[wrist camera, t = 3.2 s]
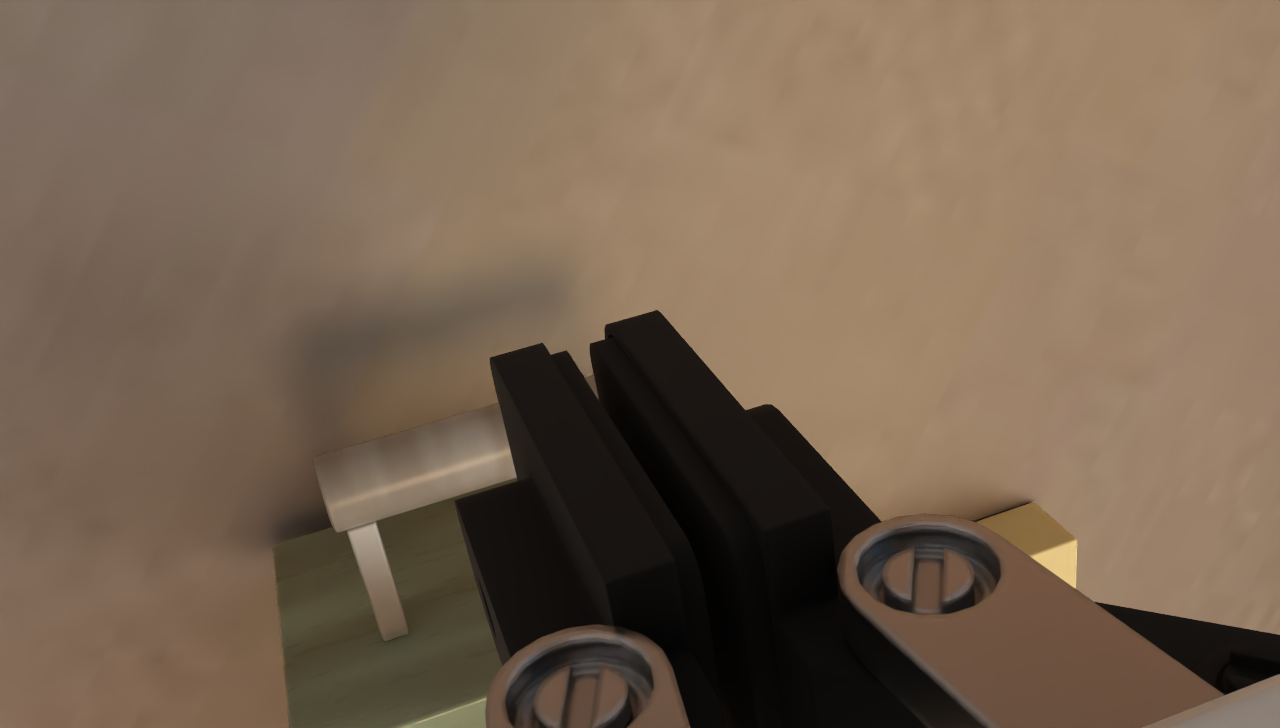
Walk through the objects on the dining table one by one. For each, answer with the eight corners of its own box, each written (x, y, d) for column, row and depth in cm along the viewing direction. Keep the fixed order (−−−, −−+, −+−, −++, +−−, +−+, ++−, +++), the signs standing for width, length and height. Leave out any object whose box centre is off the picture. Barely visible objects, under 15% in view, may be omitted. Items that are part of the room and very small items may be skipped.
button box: (779, 588, 37) (838, 670, 33) (1033, 500, 39) (1114, 570, 35) (808, 831, 42) (862, 924, 39) (1031, 744, 44) (1101, 825, 41)
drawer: (212, 384, 28) (216, 576, 21) (656, 262, 30) (786, 400, 23) (395, 878, 36) (439, 1130, 29) (732, 752, 38) (845, 959, 31)
